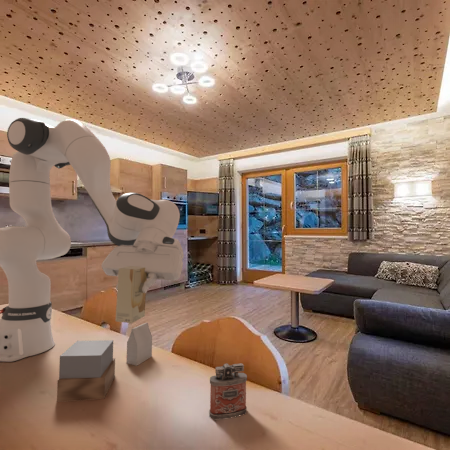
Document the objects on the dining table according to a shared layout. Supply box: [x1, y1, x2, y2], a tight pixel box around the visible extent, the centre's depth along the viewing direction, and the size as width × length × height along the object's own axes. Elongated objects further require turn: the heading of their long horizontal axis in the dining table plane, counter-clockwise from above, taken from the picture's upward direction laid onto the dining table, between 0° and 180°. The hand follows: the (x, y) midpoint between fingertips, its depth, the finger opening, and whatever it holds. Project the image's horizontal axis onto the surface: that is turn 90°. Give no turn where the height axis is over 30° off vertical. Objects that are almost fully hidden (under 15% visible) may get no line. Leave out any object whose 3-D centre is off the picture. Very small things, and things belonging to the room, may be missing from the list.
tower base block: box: [56, 357, 116, 403], centre depth 68 cm, size 10×10×5 cm
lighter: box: [208, 362, 248, 420], centre depth 60 cm, size 8×3×10 cm, turn 105°
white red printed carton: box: [126, 322, 153, 366], centre depth 84 cm, size 4×7×10 cm, turn 157°
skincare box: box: [114, 266, 148, 324], centre depth 67 cm, size 6×4×12 cm
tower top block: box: [58, 339, 114, 379], centre depth 68 cm, size 9×9×5 cm
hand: (130, 290), depth 66 cm, fingers closed on skincare box, 4 cm apart
